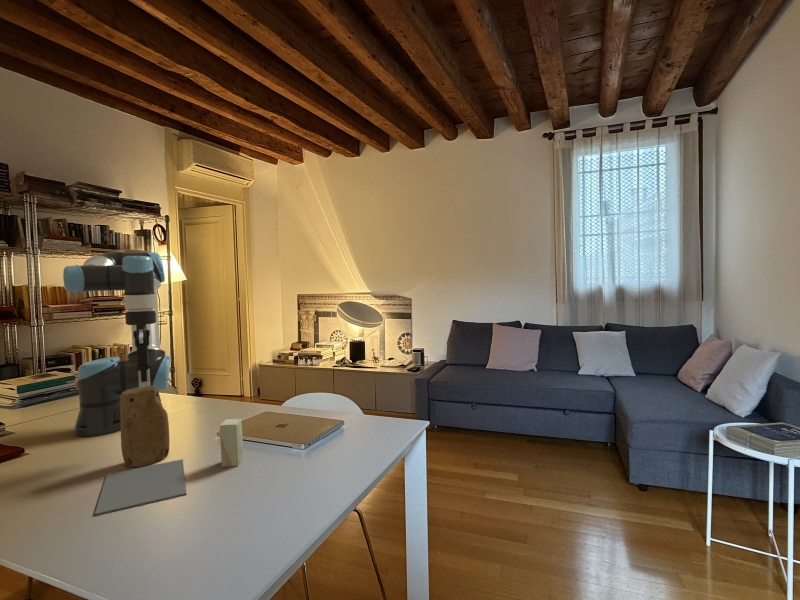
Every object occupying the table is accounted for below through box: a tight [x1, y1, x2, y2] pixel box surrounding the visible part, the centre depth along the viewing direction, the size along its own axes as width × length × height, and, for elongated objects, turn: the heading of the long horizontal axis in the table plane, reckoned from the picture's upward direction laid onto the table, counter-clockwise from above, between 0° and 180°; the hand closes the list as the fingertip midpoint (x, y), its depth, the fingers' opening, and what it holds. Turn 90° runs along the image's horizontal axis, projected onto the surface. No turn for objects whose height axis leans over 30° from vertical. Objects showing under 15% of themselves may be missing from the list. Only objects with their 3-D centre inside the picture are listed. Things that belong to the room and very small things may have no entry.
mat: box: [94, 459, 188, 517], centre depth 104 cm, size 22×17×1 cm
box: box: [219, 418, 244, 468], centre depth 115 cm, size 5×4×11 cm
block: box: [120, 386, 170, 468], centre depth 118 cm, size 11×8×20 cm
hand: (145, 392), depth 126 cm, fingers closed
